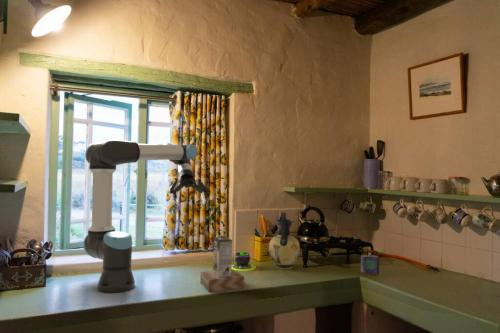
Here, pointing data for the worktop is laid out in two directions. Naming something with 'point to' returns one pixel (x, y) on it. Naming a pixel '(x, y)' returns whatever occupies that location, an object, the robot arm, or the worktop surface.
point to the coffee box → (222, 256)
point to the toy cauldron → (242, 262)
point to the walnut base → (222, 281)
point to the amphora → (284, 244)
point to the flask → (370, 264)
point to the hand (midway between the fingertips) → (191, 202)
